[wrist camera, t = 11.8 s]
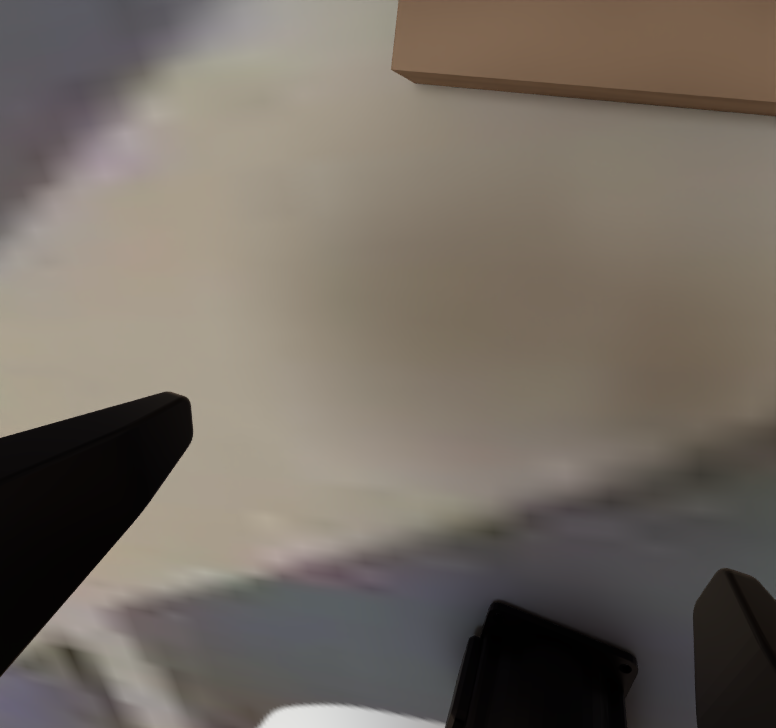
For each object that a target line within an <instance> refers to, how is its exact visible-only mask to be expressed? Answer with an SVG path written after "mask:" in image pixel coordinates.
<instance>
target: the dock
mask: <svg viewBox="0 0 776 728" xmlns="http://www.w3.org/2000/svg"><path fill="white" fill-rule="evenodd" d="M391 70H393V71H395V72H396V73H398V74H400V75H401V76H403V77H405V78H407V79H408V80H410V81H412V82H414V83H418V84H429V85H440V86H451V87H462V88H473V89H484V90H495V91H506V92H517V93H528V94H539V95H550V96H561V97H572V98H583V99H594V100H605V101H616V102H627V103H638V104H649V105H660V106H671V107H682V108H693V109H704V110H714V111H725V112H736V113H747V114H758V115H769V116H776V0H399V2H398V11H397V20H396V30H395V39H394V48H393V57H392V66H391Z"/></svg>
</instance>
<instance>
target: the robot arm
mask: <svg viewBox="0 0 776 728" xmlns="http://www.w3.org/2000/svg"><path fill="white" fill-rule="evenodd" d="M192 437H193V423H192V412H191V403H190V401H189V399H188V398H187V397H185V396H182V395H179V394H176V393H173V392H162V393H159V394H155V395H152V396H148V397H145V398H141V399H137V400H134V401H130V402H127V403H123V404H120V405H116V406H113V407H109V408H105V409H102V410H98V411H95V412H91V413H88V414H84V415H80V416H77V417H73V418H70V419H66V420H63V421H59V422H56V423H52V424H48V425H45V426H41V427H38V428H34V429H31V430H27V431H23V432H20V433H16V434H13V435H9V436H6V437H2V438H0V677H1V676H2V675H3V673H4V672H5V671H6V670H7V669H8V668H9V666H10V665H11V664H12V663H13V662H14V661H15V659H16V658H17V657H18V656H19V655H20V654H21V652H22V651H23V650H24V649H25V648H26V647H27V646H28V644H29V643H30V642H31V641H32V640H33V639H34V637H35V636H36V635H37V634H38V633H39V632H40V630H41V629H42V628H43V627H44V626H45V625H46V623H47V622H48V621H49V620H50V619H51V618H52V616H53V615H54V614H55V613H56V612H57V611H58V610H59V608H60V607H61V606H62V605H63V604H64V603H65V601H66V600H67V599H68V598H69V597H70V596H71V594H72V593H73V592H74V591H75V590H76V589H77V587H78V586H79V585H80V584H81V583H82V582H83V581H84V579H85V578H86V577H87V576H88V575H89V574H90V572H91V571H92V570H93V569H94V568H95V567H96V565H97V564H98V563H99V562H100V561H101V560H102V558H103V557H104V556H105V555H106V554H107V553H108V551H109V550H110V549H111V548H112V547H113V546H114V545H115V543H116V542H117V541H118V540H119V539H120V538H121V536H122V535H123V534H124V533H125V532H126V531H127V529H128V528H129V527H130V526H131V525H132V524H133V522H134V521H135V520H136V519H137V518H138V516H139V515H140V514H141V513H142V511H143V510H144V509H145V507H146V506H147V505H148V503H149V502H150V501H151V499H152V498H153V497H154V495H155V494H156V492H157V491H158V489H159V488H160V487H161V485H162V484H163V482H164V481H165V479H166V478H167V477H168V475H169V474H170V472H171V471H172V469H173V468H174V467H175V465H176V464H177V462H178V461H179V459H180V458H181V457H182V455H183V454H184V452H185V451H186V449H187V448H188V447H189V445H190V443H191V441H192ZM497 614H501V615H502V616H498V615H497ZM693 630H694V662H695V694H696V715H697V727H698V728H776V600H775V599H774V598H773V597H772V596H771V595H770V593H769V592H768V591H767V590H766V589H765V588H764V587H763V586H762V585H761V583H760V582H759V581H758V580H757V579H755V578H754V577H752V576H750V575H747V574H744V573H741V572H738V571H735V570H732V569H728V568H722V569H720V570H718V571H717V572H716V573H715V575H714V576H713V578H712V579H711V581H710V582H709V584H708V585H707V586H706V588H705V589H704V591H703V592H702V594H701V595H700V597H699V598H698V600H697V601H696V604H695V607H694V612H693ZM622 664H627V666H625V665H622ZM637 674H638V665H637V660H636V658H635V657H634V656H633V655H631V654H629V653H627V652H625V651H622V650H619V649H617V648H614V647H612V646H609V645H607V644H604V643H602V642H599V641H596V640H594V639H591V638H589V637H586V636H584V635H581V634H579V633H576V632H573V631H571V630H568V629H566V628H563V627H561V626H558V625H556V624H553V623H550V622H548V621H545V620H543V619H540V618H538V617H535V616H533V615H530V614H527V613H525V612H522V611H520V610H517V609H515V608H512V607H510V606H507V605H504V604H501V603H493V604H491V605H490V607H489V610H488V613H487V616H486V619H485V622H484V625H483V629H482V632H481V635H480V637H478V636H475V635H474V636H472V637H470V638H469V641H468V644H467V647H466V651H465V654H464V657H463V660H462V664H461V667H460V670H459V674H458V678H457V682H456V686H455V690H454V694H453V698H452V702H451V706H450V710H449V714H448V718H447V722H446V726H445V728H627V721H626V709H625V697H626V695H627V693H628V692H629V690H630V688H631V686H632V684H633V682H634V680H635V678H636V676H637Z"/></svg>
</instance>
